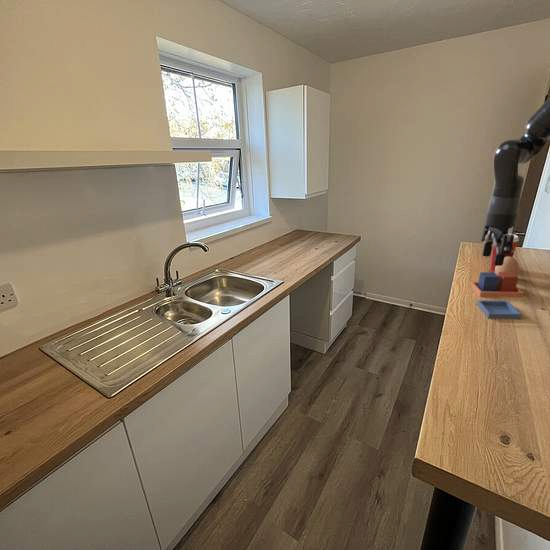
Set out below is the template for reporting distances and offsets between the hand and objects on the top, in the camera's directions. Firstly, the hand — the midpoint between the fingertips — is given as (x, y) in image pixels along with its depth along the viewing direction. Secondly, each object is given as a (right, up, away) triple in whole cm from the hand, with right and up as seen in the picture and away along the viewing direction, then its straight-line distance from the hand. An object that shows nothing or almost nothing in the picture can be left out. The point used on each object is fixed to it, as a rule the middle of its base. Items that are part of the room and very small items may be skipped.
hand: (491, 260), depth 97 cm
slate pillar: (+1, -10, +4) cm, 11 cm away
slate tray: (-4, -16, -8) cm, 18 cm away
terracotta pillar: (+6, -10, +3) cm, 12 cm away
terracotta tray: (+4, -10, +4) cm, 12 cm away
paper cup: (+16, -3, +19) cm, 25 cm away
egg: (+13, -7, +11) cm, 18 cm away
